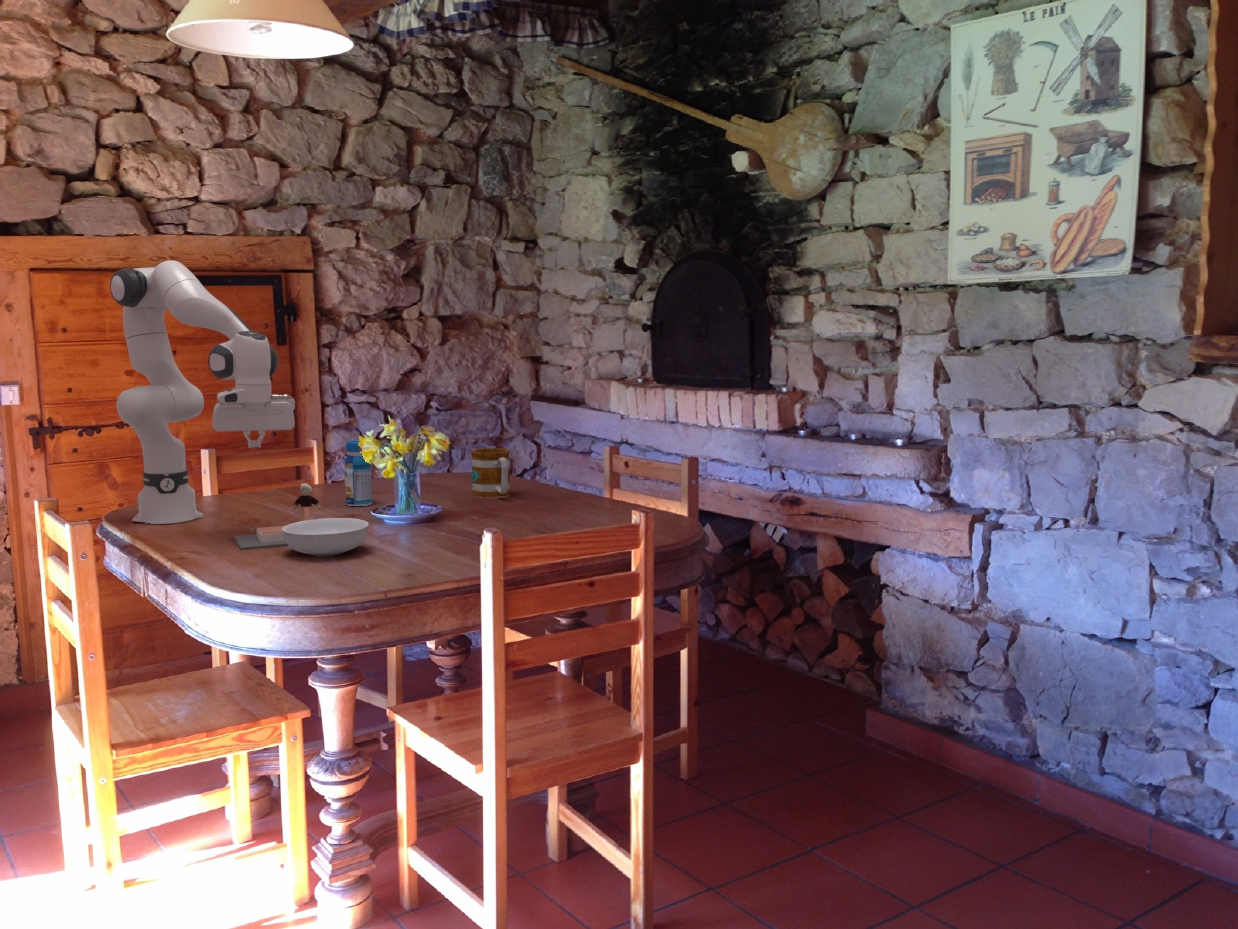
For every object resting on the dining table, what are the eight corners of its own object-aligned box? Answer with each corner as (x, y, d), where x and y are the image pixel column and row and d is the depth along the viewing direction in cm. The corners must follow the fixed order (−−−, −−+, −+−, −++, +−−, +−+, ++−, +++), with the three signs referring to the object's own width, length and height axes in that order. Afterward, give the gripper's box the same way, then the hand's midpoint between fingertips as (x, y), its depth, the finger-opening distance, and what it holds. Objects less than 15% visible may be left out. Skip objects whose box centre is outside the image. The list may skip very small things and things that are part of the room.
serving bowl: (336, 539, 275) (335, 514, 274) (386, 551, 262) (385, 524, 261) (266, 553, 259) (264, 526, 258) (316, 566, 246) (314, 537, 245)
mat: (233, 538, 275) (233, 536, 275) (296, 533, 282) (296, 531, 282) (240, 549, 262) (240, 547, 262) (306, 543, 269) (306, 541, 269)
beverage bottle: (366, 507, 320) (364, 443, 317) (340, 506, 321) (338, 442, 318) (377, 502, 328) (375, 440, 325) (351, 502, 330) (349, 439, 327)
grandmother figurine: (292, 530, 286) (291, 484, 284) (293, 527, 290) (291, 482, 288) (321, 528, 288) (320, 483, 286) (321, 526, 292) (320, 481, 290)
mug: (464, 494, 345) (464, 449, 343) (502, 491, 351) (502, 447, 349) (486, 503, 328) (485, 456, 326) (525, 500, 334) (525, 454, 332)
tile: (256, 527, 274) (295, 524, 278) (256, 536, 274) (295, 533, 279) (260, 533, 267) (300, 529, 271) (261, 542, 267) (301, 539, 272)
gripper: (292, 393, 276) (293, 444, 279) (210, 394, 267) (212, 447, 269) (297, 395, 271) (297, 448, 273) (213, 396, 262) (214, 450, 264)
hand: (254, 447), depth 271 cm, fingers closed
